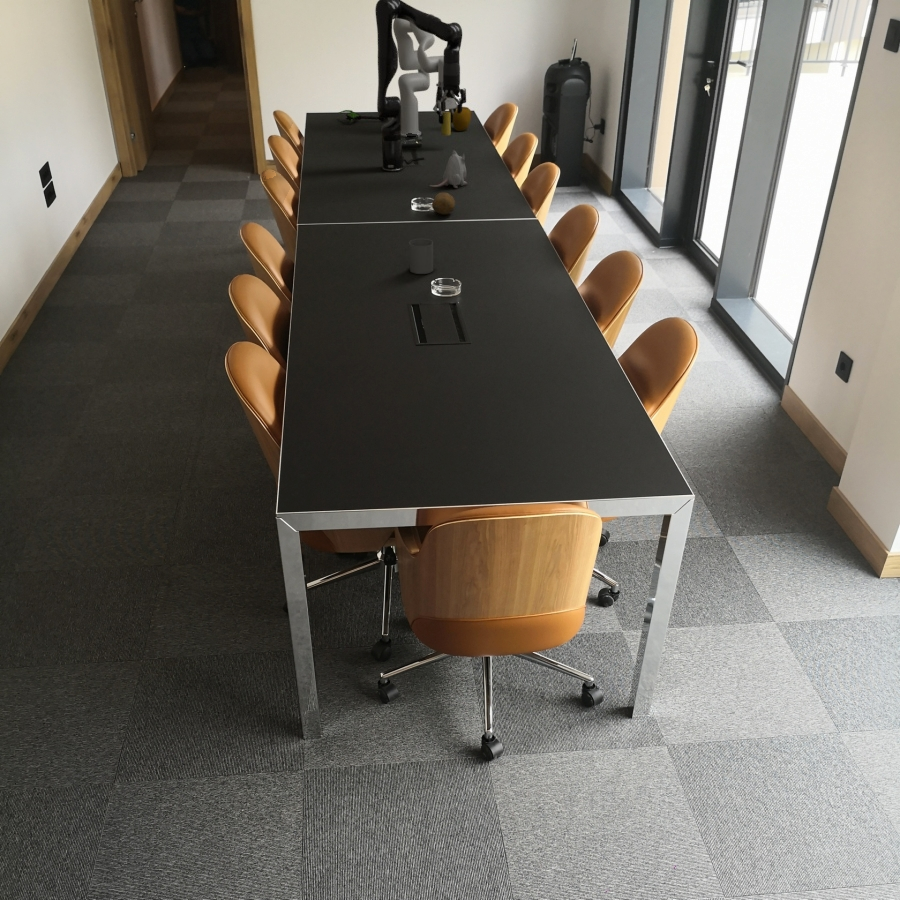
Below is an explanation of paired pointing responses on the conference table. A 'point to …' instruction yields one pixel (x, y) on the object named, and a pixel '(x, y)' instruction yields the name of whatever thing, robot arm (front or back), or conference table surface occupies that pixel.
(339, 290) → the conference table surface
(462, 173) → the toy
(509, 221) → the conference table surface
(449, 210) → the potato
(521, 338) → the conference table surface
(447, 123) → the can
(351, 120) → the scepter
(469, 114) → the yellow rounded blob
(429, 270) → the cup
